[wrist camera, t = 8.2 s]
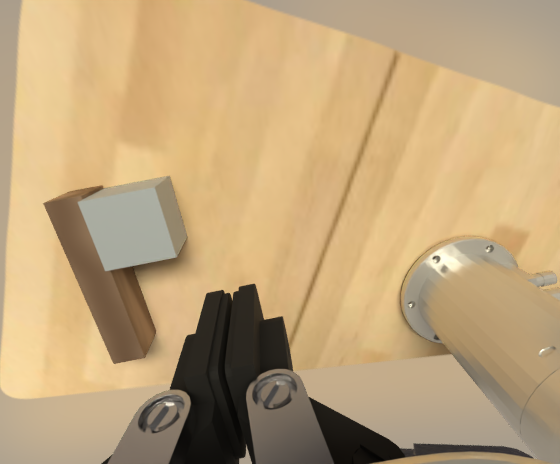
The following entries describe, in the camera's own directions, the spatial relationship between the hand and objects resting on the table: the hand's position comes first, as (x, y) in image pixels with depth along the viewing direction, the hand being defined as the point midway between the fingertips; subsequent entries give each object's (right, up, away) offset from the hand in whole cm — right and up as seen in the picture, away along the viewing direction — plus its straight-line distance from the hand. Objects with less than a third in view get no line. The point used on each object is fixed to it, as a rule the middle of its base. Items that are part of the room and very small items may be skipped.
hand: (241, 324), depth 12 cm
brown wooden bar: (-15, 0, +21) cm, 26 cm away
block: (-11, +5, +20) cm, 23 cm away
